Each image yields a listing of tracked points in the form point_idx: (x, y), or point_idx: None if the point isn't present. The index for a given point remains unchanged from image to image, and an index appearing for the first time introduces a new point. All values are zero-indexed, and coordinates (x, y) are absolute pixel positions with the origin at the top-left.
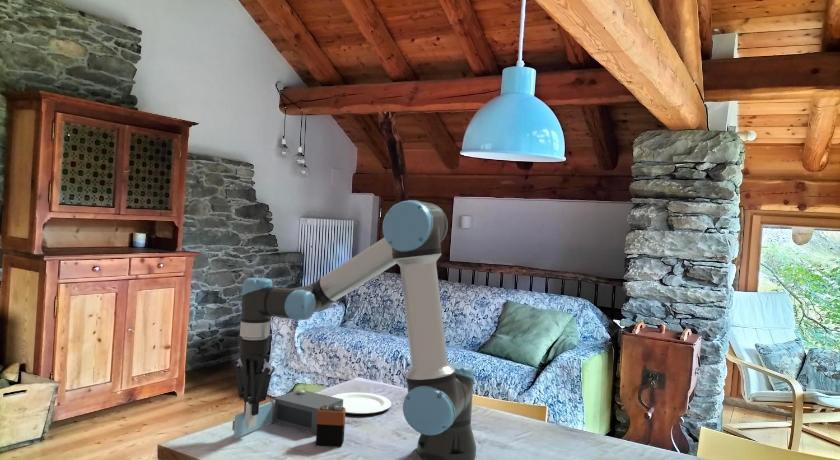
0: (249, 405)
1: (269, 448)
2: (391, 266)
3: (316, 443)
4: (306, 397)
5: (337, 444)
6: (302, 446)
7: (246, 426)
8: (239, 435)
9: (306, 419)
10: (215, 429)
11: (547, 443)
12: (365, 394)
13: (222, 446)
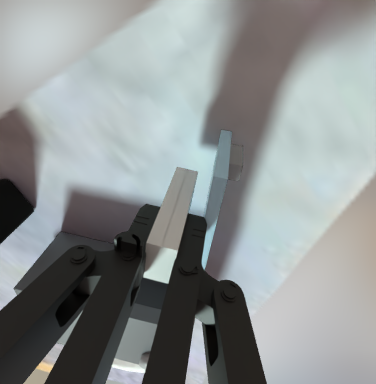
0: (153, 235)
1: (79, 110)
2: None
3: (3, 180)
4: None
5: None
6: (26, 161)
7: (188, 172)
8: (217, 148)
9: None
10: (348, 185)
11: None
12: (127, 367)
13: (236, 45)
